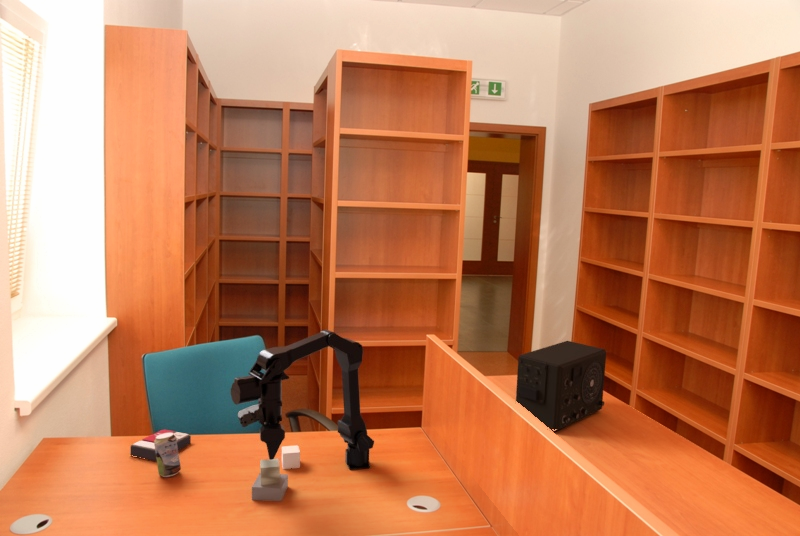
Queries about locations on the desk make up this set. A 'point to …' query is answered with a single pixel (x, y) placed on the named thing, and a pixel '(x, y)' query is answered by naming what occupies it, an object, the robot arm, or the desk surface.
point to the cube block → (270, 471)
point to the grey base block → (270, 489)
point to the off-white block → (290, 457)
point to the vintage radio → (561, 382)
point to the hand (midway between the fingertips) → (270, 451)
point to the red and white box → (147, 446)
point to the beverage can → (167, 454)
